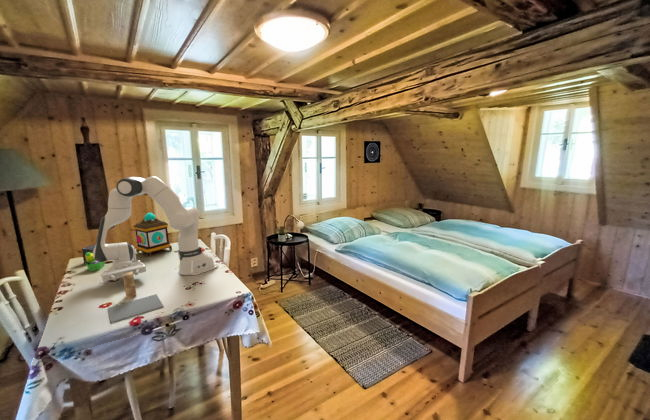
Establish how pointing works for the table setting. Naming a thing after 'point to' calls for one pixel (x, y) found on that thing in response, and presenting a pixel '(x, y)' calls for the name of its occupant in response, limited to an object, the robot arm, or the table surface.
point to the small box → (86, 250)
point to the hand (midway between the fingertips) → (126, 276)
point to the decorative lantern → (151, 235)
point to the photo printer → (134, 254)
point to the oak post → (129, 285)
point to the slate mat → (134, 308)
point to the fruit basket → (93, 262)
